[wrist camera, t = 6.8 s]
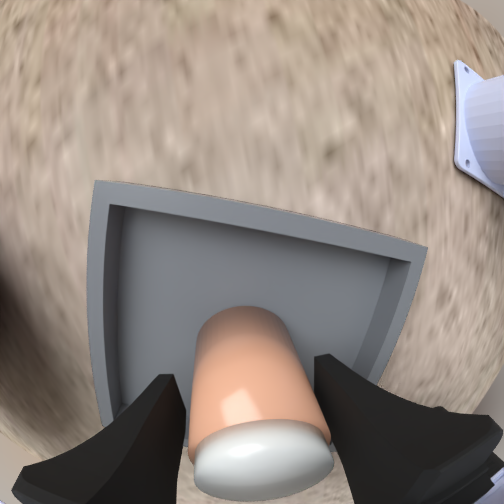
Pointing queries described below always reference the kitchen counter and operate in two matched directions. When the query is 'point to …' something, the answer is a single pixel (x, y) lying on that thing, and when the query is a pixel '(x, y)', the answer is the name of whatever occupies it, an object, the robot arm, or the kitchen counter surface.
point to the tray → (232, 285)
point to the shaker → (253, 411)
